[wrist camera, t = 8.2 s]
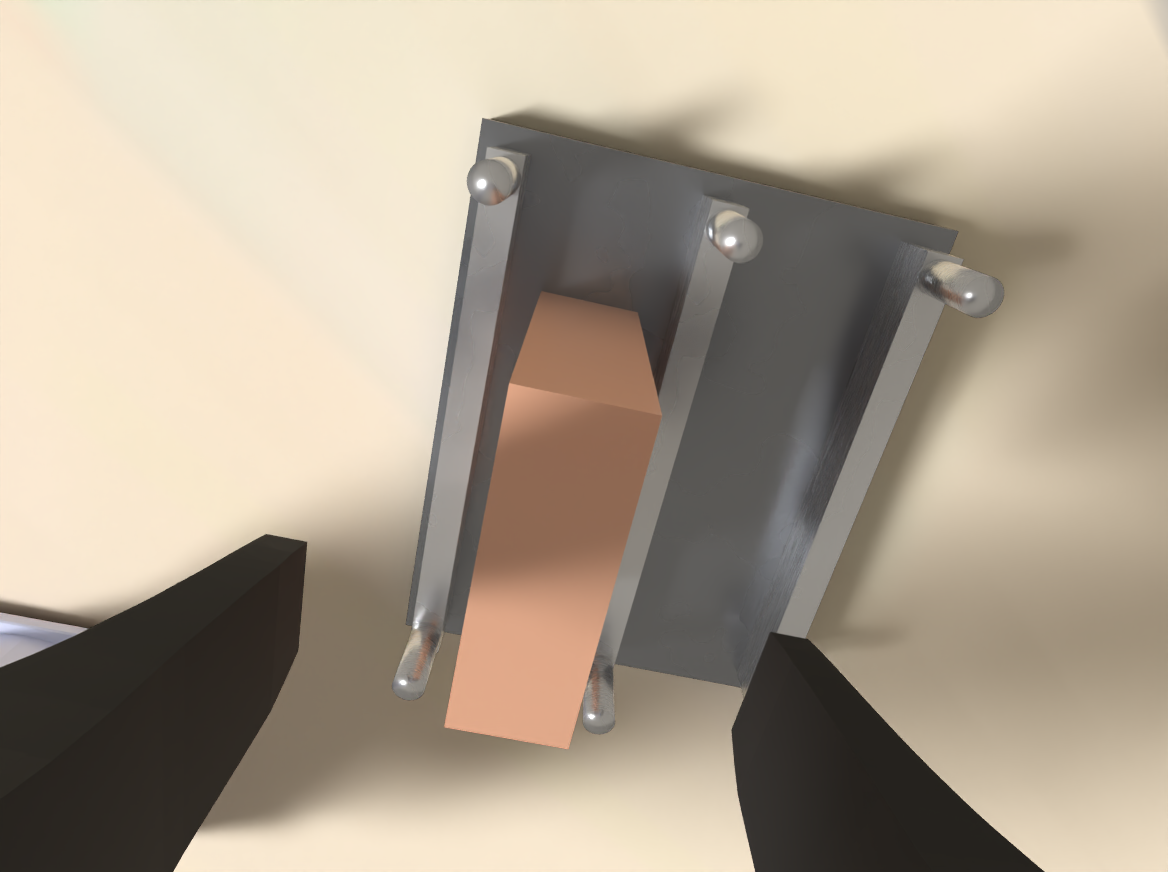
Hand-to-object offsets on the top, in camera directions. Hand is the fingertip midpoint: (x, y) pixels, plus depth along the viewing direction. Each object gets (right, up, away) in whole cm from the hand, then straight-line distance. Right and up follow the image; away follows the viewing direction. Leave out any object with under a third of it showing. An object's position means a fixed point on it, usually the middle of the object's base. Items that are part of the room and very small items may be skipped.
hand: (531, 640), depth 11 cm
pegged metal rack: (+3, +3, +9) cm, 10 cm away
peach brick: (0, +3, +8) cm, 8 cm away
